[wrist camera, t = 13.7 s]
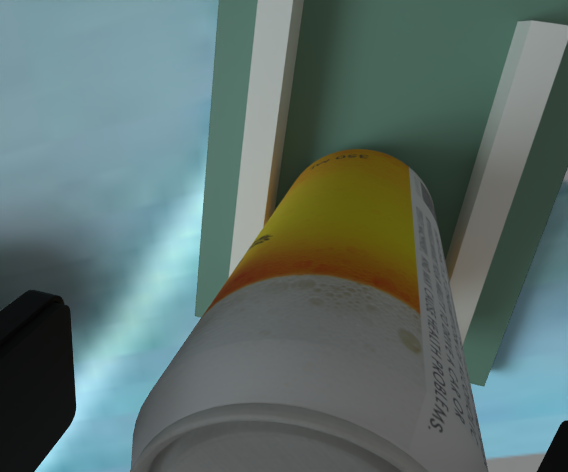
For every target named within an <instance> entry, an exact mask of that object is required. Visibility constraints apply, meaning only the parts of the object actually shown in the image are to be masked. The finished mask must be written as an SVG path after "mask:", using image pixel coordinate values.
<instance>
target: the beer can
mask: <svg viewBox="0 0 568 472" xmlns="http://www.w3.org/2000/svg"><path fill="white" fill-rule="evenodd" d="M130 472H488V468H487V463H486V458H485V453H484V448H483V443H482V438H481V433H480V429H479V424H478V419H477V414H476V409H475V404H474V399H473V394H472V390H471V385H470V380H469V375H468V370H467V365H466V360H465V355H464V351H463V346H462V341H461V336H460V331H459V326H458V321H457V316H456V312H455V307H454V302H453V297H452V292H451V287H450V282H449V277H448V273H447V268H446V263H445V258H444V253H443V248H442V243H441V238H440V234H439V229H438V224H437V219H436V214H435V209H434V204H433V201H432V198H431V195H430V193H429V191H428V189H427V187H426V186H425V184H424V183H423V181H422V180H421V178H420V177H419V176H418V175H417V174H416V173H415V172H414V171H413V170H412V169H411V168H410V167H409V166H407V165H406V164H405V163H403V162H402V161H400V160H398V159H396V158H395V157H393V156H390V155H388V154H385V153H382V152H378V151H374V150H368V149H348V150H343V151H338V152H335V153H331V154H329V155H327V156H324V157H322V158H320V159H319V160H317V161H315V162H314V163H312V164H311V165H310V166H309V167H307V168H306V169H305V170H304V171H303V172H302V173H301V174H300V176H299V177H298V178H297V179H296V181H295V182H294V184H293V185H292V187H291V188H290V190H289V191H288V192H287V194H286V195H285V197H284V198H283V200H282V201H281V203H280V204H279V206H278V207H277V208H276V210H275V211H274V213H273V214H272V216H271V217H270V219H269V220H268V222H267V223H266V224H265V226H264V227H263V229H262V230H261V232H260V233H259V235H258V236H257V238H256V239H255V240H254V242H253V243H252V245H251V246H250V248H249V249H248V251H247V252H246V254H245V255H244V256H243V258H242V259H241V261H240V262H239V264H238V265H237V267H236V268H235V270H234V271H233V272H232V274H231V275H230V277H229V278H228V280H227V281H226V283H225V284H224V286H223V287H222V289H221V290H220V291H219V293H218V294H217V296H216V297H215V299H214V300H213V302H212V303H211V305H210V306H209V307H208V309H207V310H206V312H205V313H204V315H203V316H202V318H201V319H200V321H199V322H198V323H197V325H196V326H195V328H194V329H193V331H192V332H191V334H190V335H189V337H188V338H187V339H186V341H185V342H184V344H183V345H182V347H181V348H180V350H179V351H178V353H177V354H176V355H175V357H174V358H173V360H172V361H171V363H170V364H169V366H168V367H167V369H166V370H165V371H164V373H163V374H162V376H161V377H160V379H159V380H158V382H157V383H156V385H155V386H154V387H153V389H152V390H151V392H150V393H149V395H148V397H147V398H146V400H145V402H144V403H143V405H142V407H141V409H140V412H139V415H138V417H137V420H136V424H135V429H134V433H133V445H132V461H131V470H130Z"/></svg>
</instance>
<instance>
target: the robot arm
mask: <svg viewBox="0 0 568 472" xmlns="http://www.w3.org/2000/svg"><path fill="white" fill-rule="evenodd" d="M75 412H76V397H75V380H74V364H73V348H72V332H71V316H70V309H69V307H68V306H67V305H64V302H63V299H62V298H61V297H60V296H58V295H53V294H49V293H44V292H40V291H36V290H29V291H27V292H25V293H24V294H22V295H21V296H20V297H19V298H17V299H16V300H15V301H13V302H12V303H11V304H9V305H8V306H7V307H6V308H4V309H3V310H2V311H0V472H34V471H35V470H36V469H37V467H38V466H39V465H40V464H41V462H42V461H43V460H44V458H45V457H46V456H47V455H48V453H49V452H50V451H51V449H52V448H53V447H54V445H55V444H56V443H57V442H58V440H59V439H60V438H61V436H62V435H63V434H64V433H65V431H66V430H67V429H68V427H69V426H70V424H71V423H72V421H73V418H74V416H75ZM537 472H568V421H564V422H562V424H561V425H560V427H559V429H558V431H557V433H556V435H555V437H554V439H553V441H552V443H551V445H550V447H549V449H548V451H547V453H546V455H545V457H544V459H543V461H542V463H541V465H540V467H539V469H538V471H537Z"/></svg>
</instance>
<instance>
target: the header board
mask: <svg viewBox="0 0 568 472" xmlns="http://www.w3.org/2000/svg"><path fill="white" fill-rule="evenodd" d="M348 149H368V150H374V151H378V152H382V153H385V154H388V155H390V156H393V157H395V158H396V159H398V160H400V161H402V162H403V163H405V164H406V165H407V166H409V167H410V168H411V169H412V170H413V171H414V172H415V173H416V174H417V175H418V176H419V177H420V178H421V180H422V181H423V183H424V184H425V186H426V187H427V189H428V191H429V193H430V195H431V198H432V201H433V204H434V209H435V214H436V219H437V224H438V229H439V234H440V238H441V243H442V248H443V253H444V258H445V263H446V268H447V273H448V277H449V282H450V287H451V292H452V297H453V302H454V307H455V312H456V316H457V321H458V326H459V331H460V336H461V341H462V346H463V351H464V355H465V360H466V365H467V370H468V375H469V380H470V383H472V384H476V385H480V386H484V385H485V383H486V380H487V378H488V375H489V372H490V370H491V367H492V364H493V362H494V359H495V357H496V354H497V351H498V349H499V346H500V344H501V341H502V338H503V336H504V333H505V330H506V328H507V325H508V323H509V320H510V317H511V315H512V312H513V309H514V307H515V304H516V302H517V299H518V296H519V294H520V291H521V289H522V286H523V283H524V281H525V278H526V275H527V273H528V270H529V268H530V265H531V262H532V260H533V257H534V255H535V252H536V249H537V247H538V244H539V241H540V239H541V236H542V234H543V231H544V228H545V226H546V223H547V220H548V218H549V215H550V213H551V210H552V207H553V205H554V202H555V200H556V197H557V194H558V192H559V189H560V186H561V184H562V181H563V179H564V176H565V173H566V171H567V168H568V0H219V6H218V19H217V32H216V45H215V58H214V71H213V85H212V98H211V111H210V124H209V137H208V150H207V163H206V177H205V190H204V203H203V216H202V229H201V242H200V255H199V269H198V282H197V295H196V308H195V316H197V317H201V318H202V316H203V315H204V313H205V312H206V310H207V309H208V307H209V306H210V305H211V303H212V302H213V300H214V299H215V297H216V296H217V294H218V293H219V291H220V290H221V289H222V287H223V286H224V284H225V283H226V281H227V280H228V278H229V277H230V275H231V274H232V272H233V271H234V270H235V268H236V267H237V265H238V264H239V262H240V261H241V259H242V258H243V256H244V255H245V254H246V252H247V251H248V249H249V248H250V246H251V245H252V243H253V242H254V240H255V239H256V238H257V236H258V235H259V233H260V232H261V230H262V229H263V227H264V226H265V224H266V223H267V222H268V220H269V219H270V217H271V216H272V214H273V213H274V211H275V210H276V208H277V207H278V206H279V204H280V203H281V201H282V200H283V198H284V197H285V195H286V194H287V192H288V191H289V190H290V188H291V187H292V185H293V184H294V182H295V181H296V179H297V178H298V177H299V176H300V174H301V173H302V172H303V171H304V170H305V169H306V168H307V167H309V166H310V165H311V164H312V163H314V162H315V161H317V160H319V159H320V158H322V157H324V156H327V155H329V154H331V153H335V152H338V151H343V150H348Z"/></svg>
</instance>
